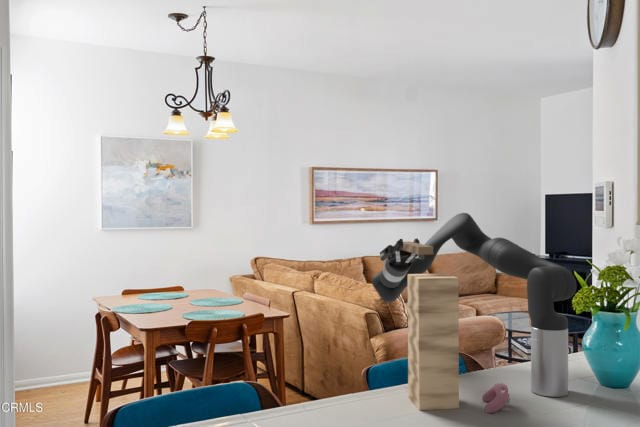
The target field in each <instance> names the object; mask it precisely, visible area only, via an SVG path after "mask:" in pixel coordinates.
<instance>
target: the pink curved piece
mask: <svg viewBox="0 0 640 427" xmlns="http://www.w3.org/2000/svg"><path fill="white" fill-rule="evenodd" d="M481 400H482V401H483V402H484V403H487V404H486V405H485V407H484V411H485V412H486V413H488V414H493V413H496V412H498V411H501V410H502V408H504V407H505V406H506V405H508V404H510V402H511V400H510V393H509V387H508V385H506V384H504V383H502V382H501V383H500V382H497V383H495V384H494V385H493V386H492V387H491V388H489V389H488V390H487V391H485V392H484V393H483V394H482V397H481Z"/></svg>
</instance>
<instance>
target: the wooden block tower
mask: <svg viewBox="0 0 640 427" xmlns="http://www.w3.org/2000/svg"><path fill="white" fill-rule="evenodd" d="M459 294H460V293H459V277H457V276H453V275H451V274H448V273H445V272H443V273H442V272H440V273H439V272H438V273H423V274H408V286H407V303H406V307H407V388H408V389H407V390H408V392H407V394H408V396H407V397H408V399H409V400H410V401H411V403H413V405H414V406H415V407H416V408H417V409H418V410H419V411H427V410H428V411H430V410H431V411H433V410H449V409H450V410H451V409H460V366H459V365H460V364H459V363H460V362H459V361H460V351H459V349H460V342H459V341H460V340H459V339H460V338H459V337H460V334H459V333H460V332H459V331H460V330H459V327H460V325H459V324H460V322H459V320H460V318H459V317H460V316H459V313H460V308H459V307H460V306H459V298H460V297H459Z"/></svg>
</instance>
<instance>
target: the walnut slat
mask: <svg viewBox="0 0 640 427" xmlns="http://www.w3.org/2000/svg"><path fill="white" fill-rule="evenodd" d="M401 250H404V251H407V252H411V253H414V254H418V255H429V254H433V247H432V246H428V245H424V244H423V243H420V244H419V243H414V241H403V247H402V249H401Z"/></svg>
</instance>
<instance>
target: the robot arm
mask: <svg viewBox="0 0 640 427" xmlns="http://www.w3.org/2000/svg"><path fill="white" fill-rule="evenodd" d="M451 239H452V240H453V242H454V243H455V245H456V246H457V247H458V248H459V249H460V250H463V251H465V252H467V253H469V254H472V255H475V256H476V257H479V258H480V259H481V260H482V261H484V262H485V263H487V265H490V266H491V267H492V268H494V269H495V270H497V271H499V272H500V273H502V274H505V275H508V276H510V277H515V278H518V279H523V280H526V296H527V313H528V316H529V320H530V390H531V392H532V393H534V394H535V395H540V396H545V397H550V398H551V397H552V398H553V397H555V398H559V397H565V396H568V394H569V319H568V317H567V316H565V315H563V314H560V313H559V312H556V311H555V308H554V302H560V301H565V300H568V299H570V298H572V297H573V296H574V295H575V294H576V292H577V280H576V278H575V277H574V274H573V273H572V272H571V271H570V269H568V268H566V267H564V266H562V265H559V264H557V263H554V262H551V261H550V260H549V261H548V260H547V259H544V258H542V257H540V256H537V254H534V253H533V252H532V251H531V252H530V251H529V250H527V249H525V248H523V247H521V246H519V245H518V244H517V243H514V242H513V241H511V240H509V239H508V238H507V239H506V238H504V237H494V238H491V237H489V236H488V235H486V234H485V233H484V232H483V230H481V228H480V227H479V225H478V224H477V222H476V221H475V220H474V218H473V217H472V216H471V214H469V213H467V212H462V213H458V214H456V215H454V216H453V217H452V218H450V219H449V220H447V222H445V224H444V225H442V226H441V227H440V228H439V229H438V230H437V231H435V233H434V234H433V235H432V236H431V237H430V238H429V239H428V240H427V241H426V242H425V243H424V244H423V245H428V246H432V247H433V254H429V255H418V254H414V253H411V252H407V251H404V250H401V249H402V247H403V242H404V240H403V238H399V240H397V241H396V243H394V245H392V244H389V245H387V246H386V247H385V248H383V250H381V251H380V252H379V255H380V257H379V258H380V261H381V262H383V261H385V262H384V264H383V267H382V270H381V271H379V272H377V273H376V274H375V275H374V276H372V278H371V284H372V286H373V288H374V290H375V291H376V292H377V295H379V297H380V299H381V300H382V301H383V302H385V303H386V304H387V303H393V302H394V301H396V300H397V299H398V298H399V297H400V295H401V294H402V293H403V292H404V291H405V289H406V288H408V274H425V272H426V271H427V270H428V269H429V268H430V267H431V266H432V264H434V260H435V259H436V256H437V255H438V253H439V251H440V249H441V248H442V247H443V246H444V245H445V244H446V242H448V241H449V240H451ZM413 242H414V243H419V244H421V242H420V240H419V239H418V238H414V240H413Z"/></svg>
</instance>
